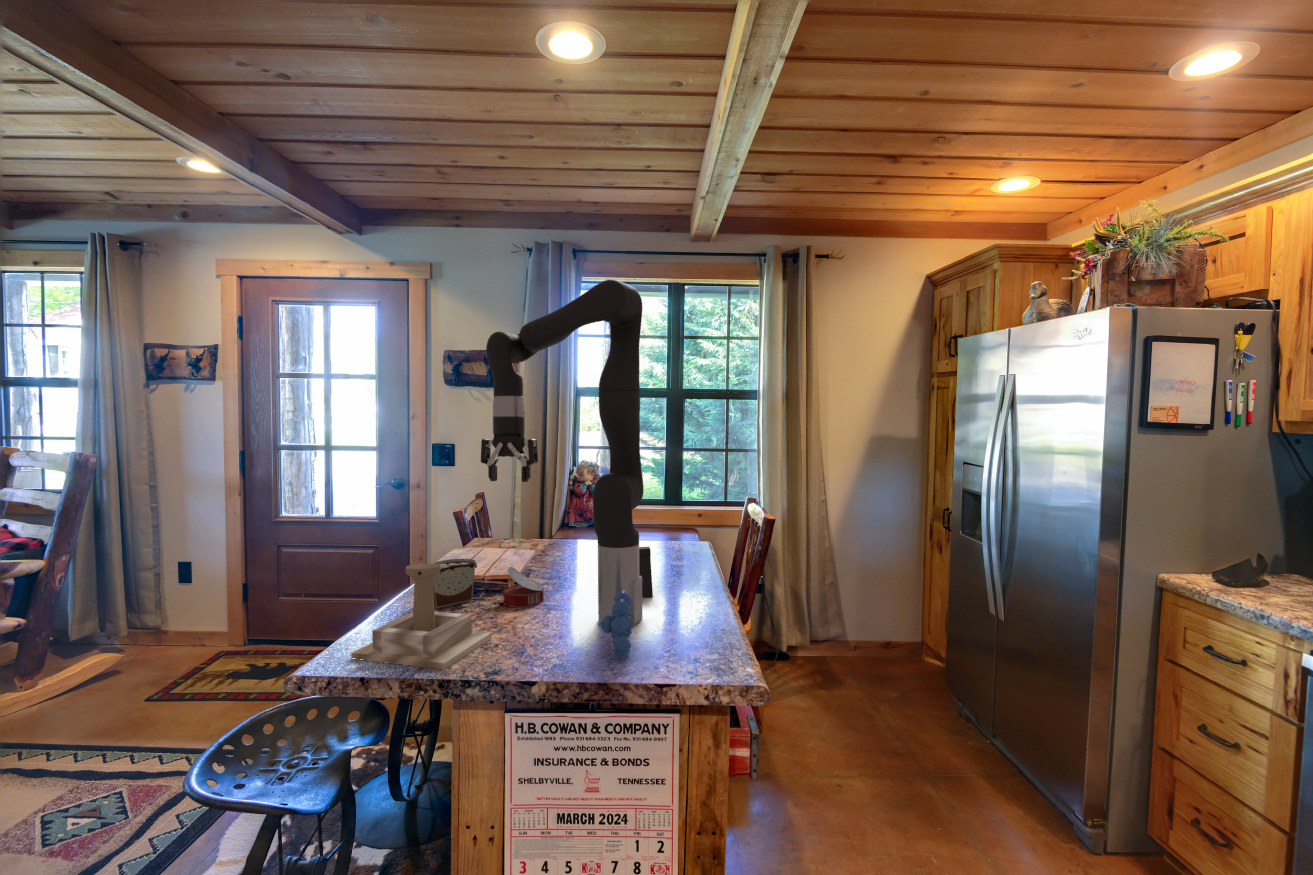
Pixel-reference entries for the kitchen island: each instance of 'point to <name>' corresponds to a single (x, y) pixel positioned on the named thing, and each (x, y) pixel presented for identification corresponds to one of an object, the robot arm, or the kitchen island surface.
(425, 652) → the socket stand
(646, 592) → the door stopper
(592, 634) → the kitchen island surface
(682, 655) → the kitchen island surface
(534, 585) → the canned food
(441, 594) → the food container
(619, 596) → the grapes
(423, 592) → the handle
